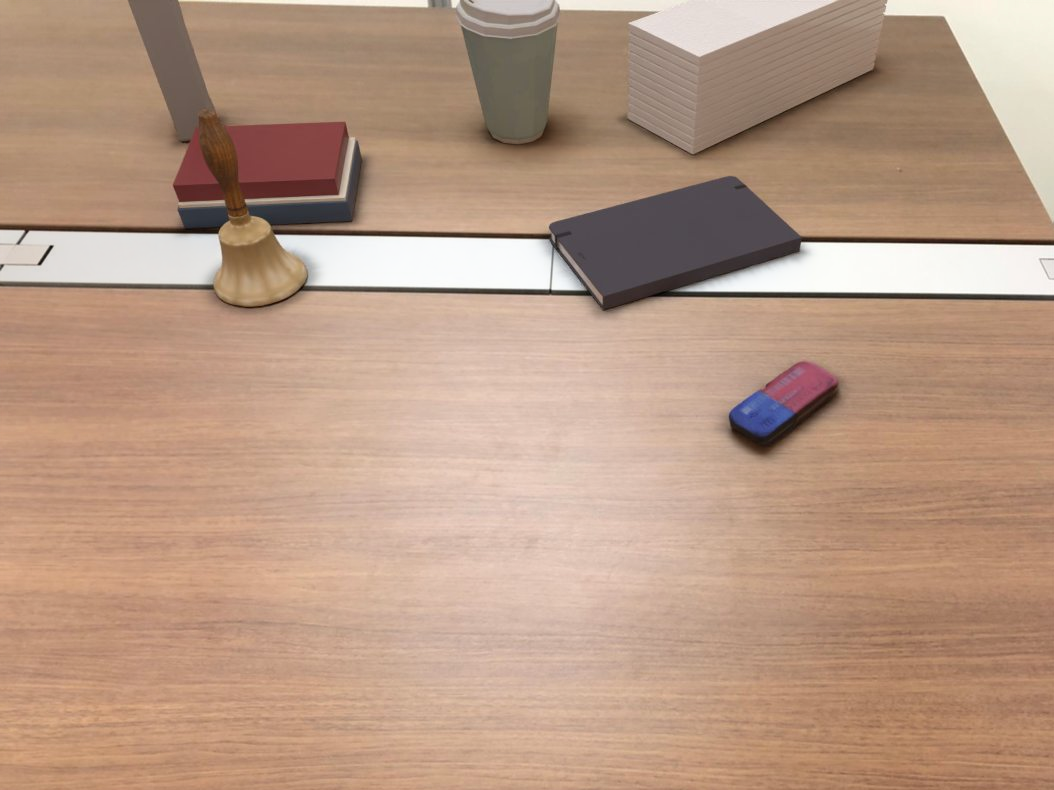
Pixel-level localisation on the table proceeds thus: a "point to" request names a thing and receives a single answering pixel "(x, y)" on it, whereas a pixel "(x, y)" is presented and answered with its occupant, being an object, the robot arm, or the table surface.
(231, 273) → the hand bell
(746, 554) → the table surface
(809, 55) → the stack of papers
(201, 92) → the tall grey plank
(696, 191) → the notebook
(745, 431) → the eraser
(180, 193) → the book stack
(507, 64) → the disposable coffee cup
